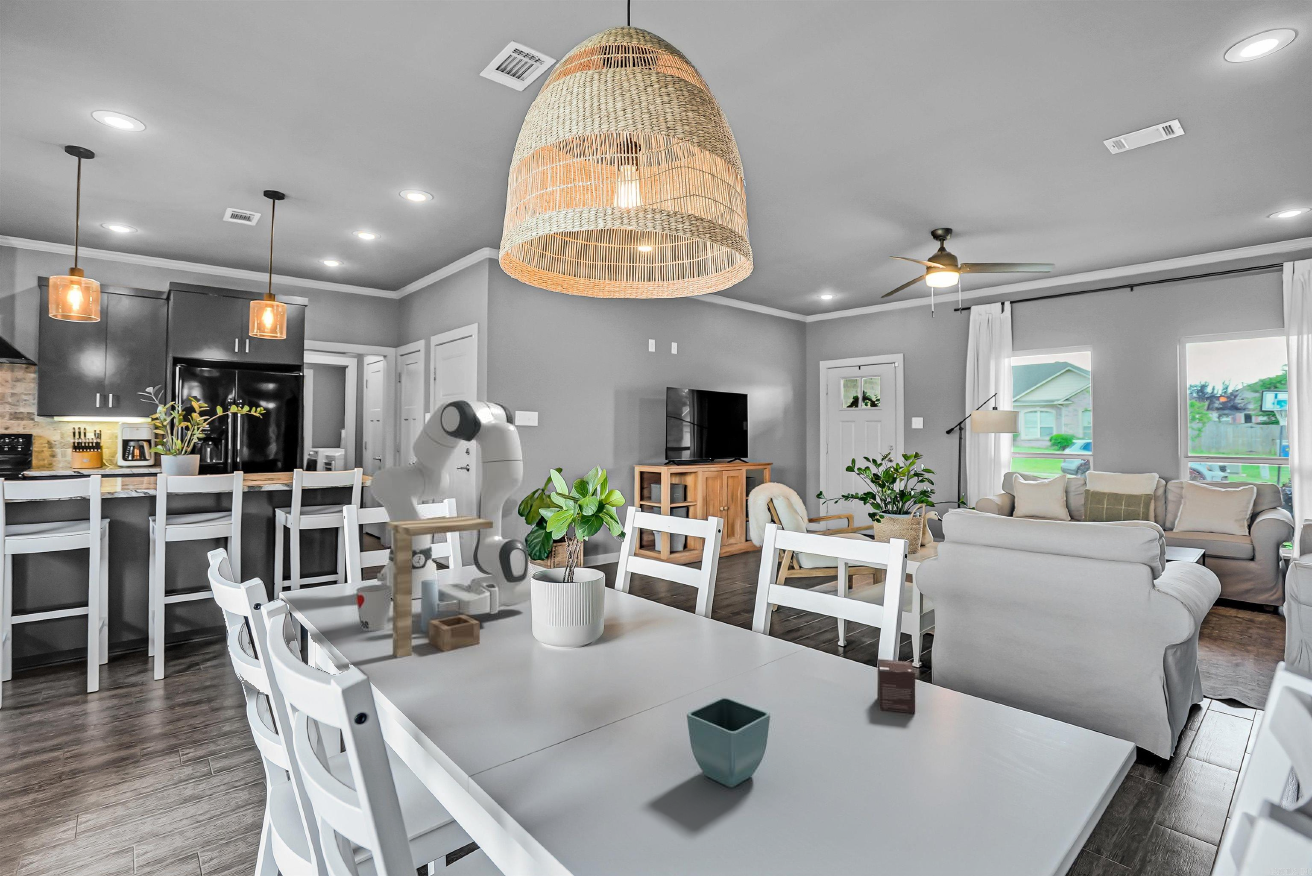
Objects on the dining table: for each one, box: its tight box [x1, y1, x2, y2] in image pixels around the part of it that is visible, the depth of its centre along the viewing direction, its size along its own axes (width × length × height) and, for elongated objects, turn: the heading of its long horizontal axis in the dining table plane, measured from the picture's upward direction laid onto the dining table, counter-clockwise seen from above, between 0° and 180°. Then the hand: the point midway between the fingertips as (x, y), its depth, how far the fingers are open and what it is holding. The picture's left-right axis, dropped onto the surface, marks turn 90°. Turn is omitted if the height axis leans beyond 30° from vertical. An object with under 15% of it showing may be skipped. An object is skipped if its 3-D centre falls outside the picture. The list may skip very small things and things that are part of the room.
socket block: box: [428, 614, 481, 653], centre depth 149 cm, size 8×8×5 cm
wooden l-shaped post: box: [386, 515, 493, 659], centre depth 147 cm, size 14×20×28 cm
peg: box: [420, 579, 439, 633], centre depth 159 cm, size 4×4×12 cm
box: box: [876, 658, 916, 714], centre depth 116 cm, size 6×6×7 cm
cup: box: [356, 584, 392, 632], centre depth 160 cm, size 8×8×10 cm
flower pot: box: [686, 696, 771, 788], centre depth 92 cm, size 9×9×9 cm
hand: (430, 603), depth 160 cm, fingers open, 8 cm apart
